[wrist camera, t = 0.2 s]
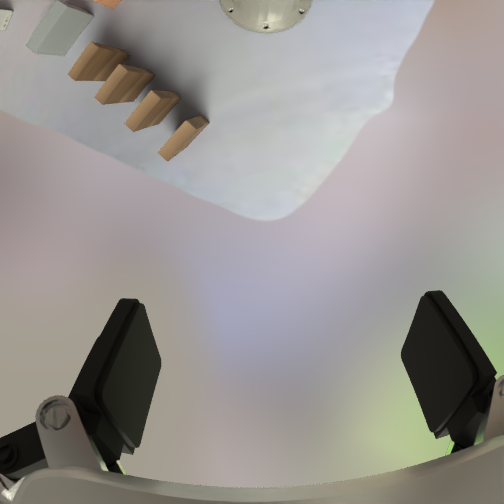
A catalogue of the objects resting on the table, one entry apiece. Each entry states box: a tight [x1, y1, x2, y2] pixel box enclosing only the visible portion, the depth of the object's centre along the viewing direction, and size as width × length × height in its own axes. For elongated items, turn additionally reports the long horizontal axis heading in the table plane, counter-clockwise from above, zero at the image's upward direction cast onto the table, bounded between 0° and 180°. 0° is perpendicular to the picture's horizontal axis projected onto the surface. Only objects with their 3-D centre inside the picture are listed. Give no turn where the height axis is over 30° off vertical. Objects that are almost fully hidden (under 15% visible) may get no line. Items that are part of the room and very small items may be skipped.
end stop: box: [26, 0, 94, 56], centre depth 28 cm, size 3×8×8 cm, turn 135°
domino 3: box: [124, 90, 181, 132], centre depth 34 cm, size 2×5×10 cm, turn 135°
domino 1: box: [68, 42, 130, 81], centre depth 31 cm, size 2×5×10 cm, turn 135°
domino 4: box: [158, 116, 209, 162], centre depth 36 cm, size 2×5×10 cm, turn 135°
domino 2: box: [94, 64, 155, 105], centre depth 33 cm, size 2×5×10 cm, turn 135°
